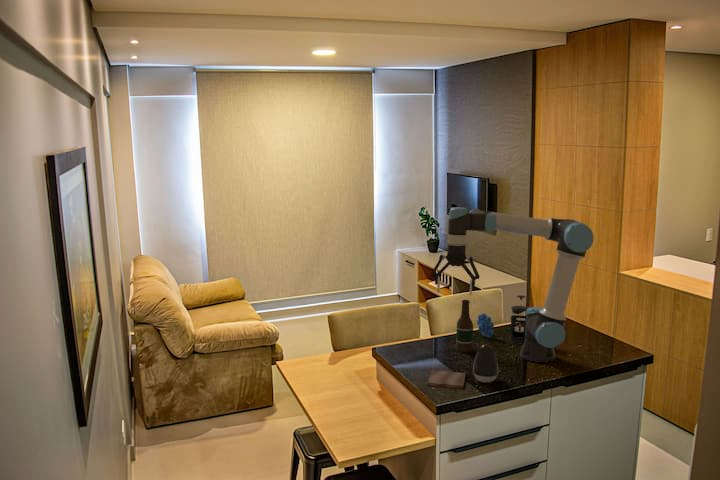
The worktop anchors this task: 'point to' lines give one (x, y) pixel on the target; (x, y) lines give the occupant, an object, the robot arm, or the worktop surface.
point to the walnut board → (446, 379)
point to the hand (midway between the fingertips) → (454, 293)
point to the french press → (517, 330)
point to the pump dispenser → (485, 364)
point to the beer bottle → (464, 330)
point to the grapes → (485, 325)
